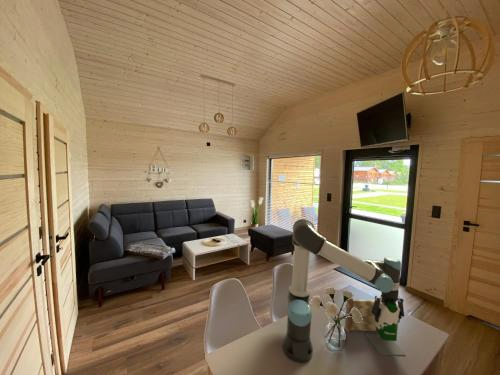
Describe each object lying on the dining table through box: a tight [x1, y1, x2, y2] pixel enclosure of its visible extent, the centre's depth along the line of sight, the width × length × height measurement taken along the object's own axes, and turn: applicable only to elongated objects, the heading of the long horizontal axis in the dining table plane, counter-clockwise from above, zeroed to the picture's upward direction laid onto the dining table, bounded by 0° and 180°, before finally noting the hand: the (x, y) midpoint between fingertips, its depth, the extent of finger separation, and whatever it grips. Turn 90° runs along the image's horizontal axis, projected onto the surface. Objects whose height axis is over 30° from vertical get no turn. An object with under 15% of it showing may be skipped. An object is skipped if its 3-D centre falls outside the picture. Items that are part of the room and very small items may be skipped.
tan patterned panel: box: [344, 296, 354, 333], centre depth 124 cm, size 24×4×20 cm, turn 90°
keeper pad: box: [366, 333, 406, 357], centre depth 115 cm, size 13×13×1 cm
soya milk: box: [375, 299, 400, 342], centre depth 114 cm, size 9×9×20 cm
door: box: [351, 299, 377, 332], centre depth 123 cm, size 18×3×18 cm, turn 90°
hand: (386, 327), depth 114 cm, fingers closed on soya milk, 9 cm apart
